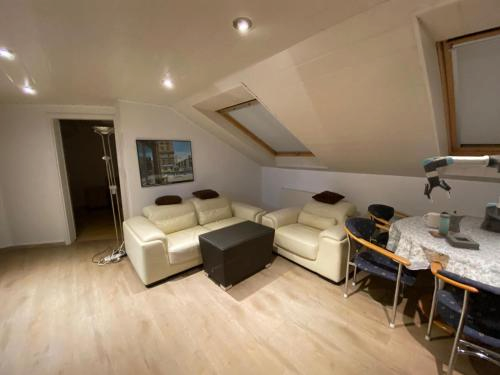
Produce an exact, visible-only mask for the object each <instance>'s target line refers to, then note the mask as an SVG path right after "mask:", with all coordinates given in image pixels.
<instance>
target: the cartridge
mask: <svg viewBox="0 0 500 375" xmlns="http://www.w3.org/2000/svg"><path fill="white" fill-rule="evenodd" d="M449 221H450V215H447V214H441V213H440V219H439V227H438V231H439V234H440V235H444V236H446V235H448V232H449V231H448V229H449Z"/></svg>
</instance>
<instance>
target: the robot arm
mask: <svg viewBox="0 0 500 375" xmlns="http://www.w3.org/2000/svg"><path fill="white" fill-rule="evenodd" d="M421 163H422V167H423V170H424V172H425V175H426V178H427V179H426V180H427V183H424V184H425V185H424V186H425V188H424V192H423V196H426V197H427V199H428V200H429V203H431V204H432V203H434V200H433V197H432V191H433V189H434V188H436V187H437V188H438V187H439V188H440V189H443V191H444V193H445V197H446V199H448V200H449V199H451V192H450V191H451V190H452V187H451V186H449V184H448V183H446V181H445V180H444V179H440V177H439V174H438V171H437V169H439V168H440V169H441V168H444V167H450V166H464V167H465V166H467V167H469V166H471V167H473V166H474V167H477V166H478V167H483V168H489V169H490V168H492V169H496V170H497V172H496V173H497V174H498V175H500V154H494V155H484V156H451V155H449V156H434V157H431V158H427V159H424V160H422V161H421ZM479 228H480V229H482V230H484V231H488V232H494V233H500V197H499V202H498V203H497V202H488V203H487V204H486V206H485V211H484V218H483V220H482V222H481V223H480V225H479Z"/></svg>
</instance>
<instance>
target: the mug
mask: <svg viewBox="0 0 500 375" xmlns="http://www.w3.org/2000/svg"><path fill="white" fill-rule="evenodd" d="M440 215H441V213H437V212H428V213H427V214H424V215H423V217H422V219H423V221H424V222H426V226H427V227H429V228H434V229H439V226H440V218H441V217H440ZM426 216H427V220H426V219H425V218H424V217H426Z"/></svg>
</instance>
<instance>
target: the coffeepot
mask: <svg viewBox="0 0 500 375" xmlns="http://www.w3.org/2000/svg"><path fill="white" fill-rule="evenodd" d="M441 214H447V215H450V221H449V229H448V232H449V233H453V234H455V233H458V234H459V233H460V232H461V230H460V228H461V227H460V223H461V221H462V220H463V219H464V218H466V216H465V215H463V214H461V213H458V212H457V210H454V211H453V212H448V211H442V212H441V213H440V215H441Z"/></svg>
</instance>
